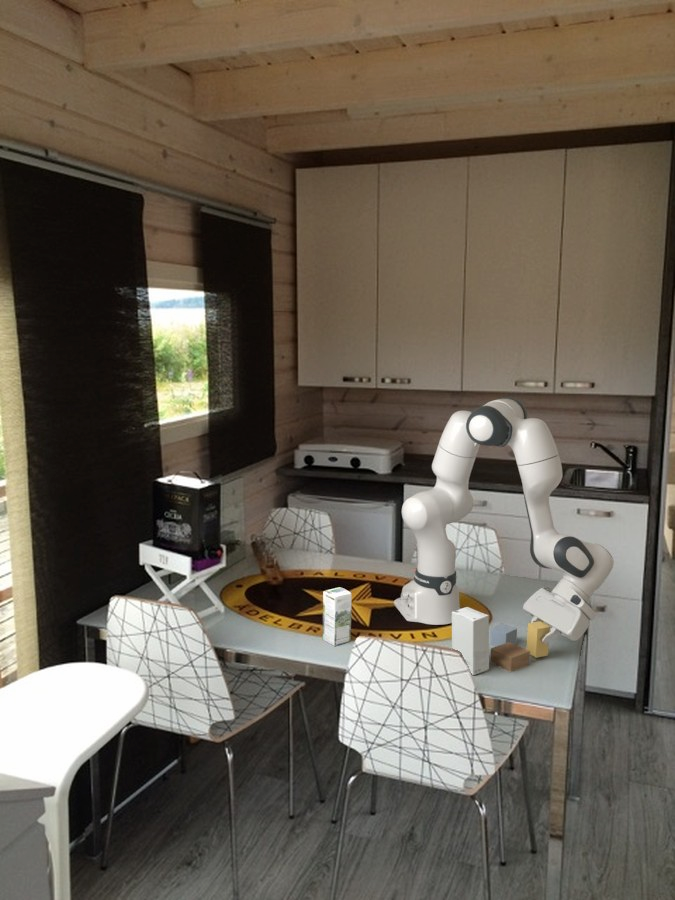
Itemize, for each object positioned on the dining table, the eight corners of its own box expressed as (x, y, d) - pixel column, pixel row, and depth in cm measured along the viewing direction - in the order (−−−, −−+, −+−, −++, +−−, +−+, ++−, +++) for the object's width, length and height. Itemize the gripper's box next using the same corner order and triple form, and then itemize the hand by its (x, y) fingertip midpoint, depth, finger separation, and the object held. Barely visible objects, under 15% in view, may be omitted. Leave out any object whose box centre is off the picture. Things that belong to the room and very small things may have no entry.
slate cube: (490, 645, 221) (490, 628, 220) (500, 640, 224) (501, 623, 223) (505, 651, 217) (506, 633, 216) (516, 645, 220) (517, 628, 219)
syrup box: (338, 634, 226) (339, 585, 224) (351, 642, 222) (352, 592, 219) (322, 639, 223) (322, 590, 220) (334, 647, 218) (335, 596, 216)
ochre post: (526, 651, 214) (528, 623, 212) (538, 649, 216) (540, 621, 214) (535, 657, 210) (537, 629, 209) (548, 655, 212) (549, 626, 210)
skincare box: (489, 670, 205) (491, 615, 202) (472, 676, 202) (474, 620, 199) (466, 658, 212) (468, 605, 209) (449, 664, 209) (451, 610, 206)
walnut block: (490, 662, 210) (490, 648, 209) (508, 656, 214) (509, 642, 214) (510, 672, 205) (511, 658, 204) (528, 665, 209) (529, 651, 208)
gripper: (537, 578, 222) (506, 616, 220) (588, 604, 204) (554, 646, 202) (549, 591, 225) (518, 629, 223) (600, 618, 206) (567, 660, 204)
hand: (536, 638), depth 212 cm, fingers closed on ochre post, 4 cm apart
